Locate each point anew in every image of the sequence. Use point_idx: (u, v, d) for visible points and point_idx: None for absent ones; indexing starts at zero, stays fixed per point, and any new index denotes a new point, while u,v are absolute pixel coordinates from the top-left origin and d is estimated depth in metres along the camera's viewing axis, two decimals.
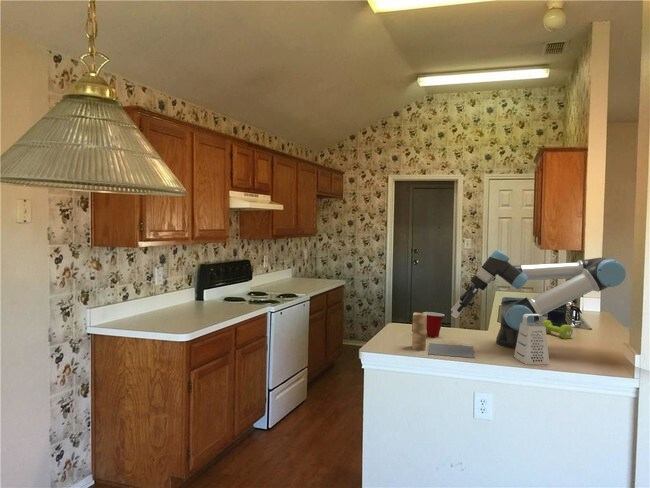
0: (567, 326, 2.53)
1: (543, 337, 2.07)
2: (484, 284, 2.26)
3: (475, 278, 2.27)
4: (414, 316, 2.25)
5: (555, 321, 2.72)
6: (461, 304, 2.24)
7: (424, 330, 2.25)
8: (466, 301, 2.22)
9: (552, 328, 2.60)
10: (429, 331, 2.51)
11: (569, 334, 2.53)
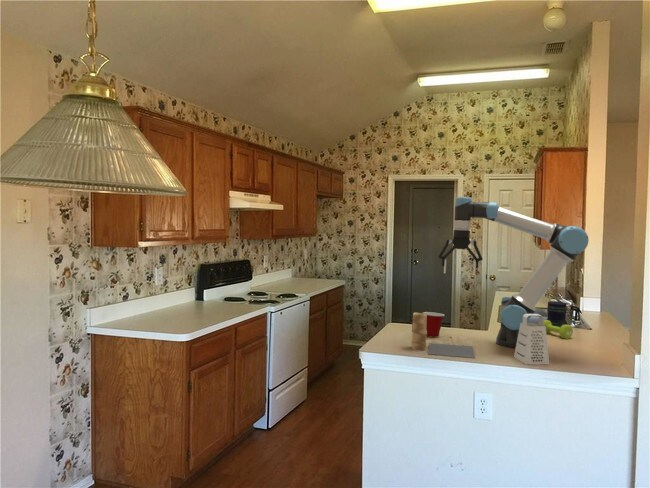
0: (567, 326, 2.53)
1: (543, 337, 2.07)
2: (455, 231, 2.32)
3: None
4: (414, 316, 2.25)
5: (555, 321, 2.72)
6: (442, 258, 2.36)
7: (424, 330, 2.25)
8: (440, 253, 2.36)
9: (552, 328, 2.60)
10: (429, 331, 2.51)
11: (569, 334, 2.53)
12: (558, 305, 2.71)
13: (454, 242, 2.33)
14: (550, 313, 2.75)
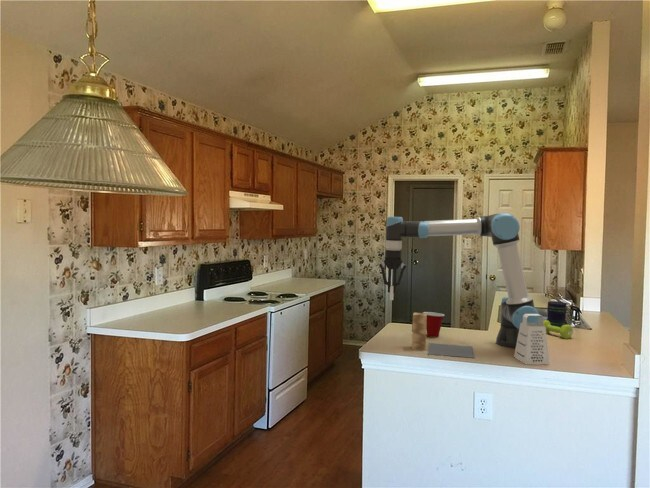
0: (568, 326, 2.53)
1: (543, 337, 2.07)
2: (386, 251, 2.28)
3: None
4: (414, 316, 2.25)
5: (555, 321, 2.72)
6: None
7: (424, 330, 2.25)
8: None
9: (552, 328, 2.60)
10: (429, 331, 2.51)
11: (570, 334, 2.53)
12: (558, 305, 2.71)
13: (386, 262, 2.29)
14: (550, 313, 2.75)
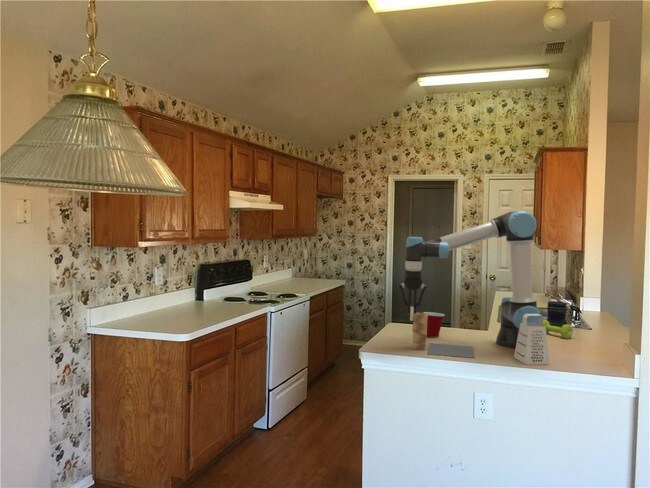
0: (568, 326, 2.53)
1: (543, 337, 2.07)
2: (406, 272, 2.26)
3: None
4: (415, 316, 2.25)
5: (555, 321, 2.72)
6: None
7: (425, 330, 2.25)
8: None
9: (552, 328, 2.59)
10: (429, 331, 2.51)
11: (570, 334, 2.53)
12: (558, 305, 2.71)
13: (406, 283, 2.28)
14: (550, 313, 2.75)
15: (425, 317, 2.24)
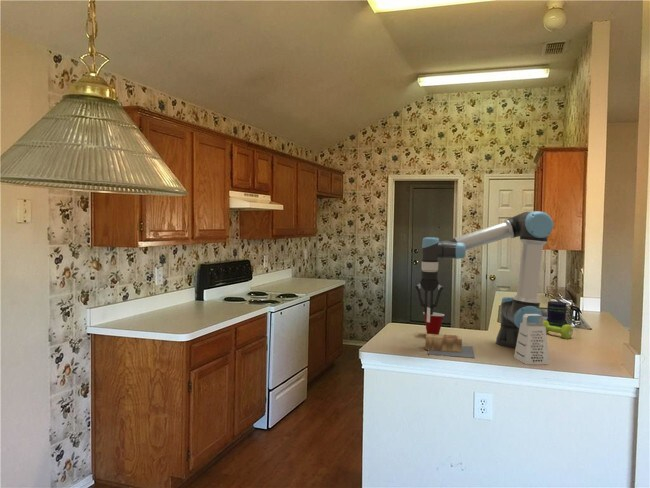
0: (569, 326, 2.53)
1: (543, 337, 2.07)
2: (422, 273, 2.25)
3: None
4: (460, 340, 2.21)
5: (555, 321, 2.72)
6: None
7: (445, 349, 2.23)
8: (420, 301, 2.28)
9: (552, 328, 2.59)
10: (429, 331, 2.51)
11: (570, 334, 2.53)
12: (558, 305, 2.71)
13: (422, 284, 2.26)
14: (550, 313, 2.75)
15: (459, 350, 2.21)
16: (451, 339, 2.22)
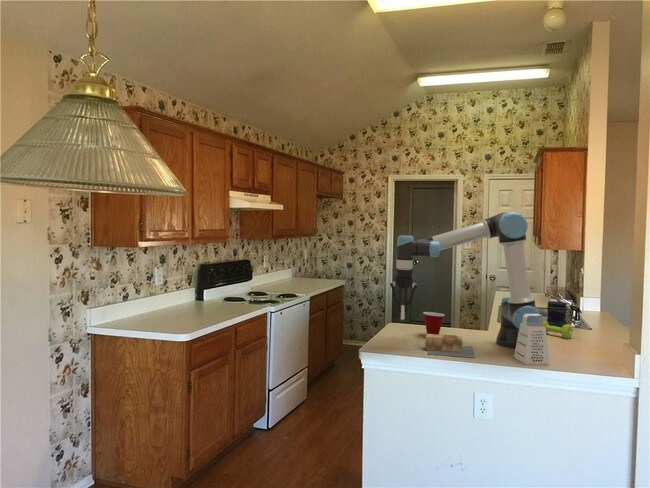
0: (569, 326, 2.53)
1: (543, 337, 2.07)
2: (397, 271, 2.27)
3: None
4: (460, 340, 2.21)
5: (555, 321, 2.72)
6: None
7: (445, 349, 2.23)
8: None
9: (552, 328, 2.59)
10: (429, 331, 2.51)
11: (571, 334, 2.54)
12: (558, 305, 2.71)
13: (396, 281, 2.29)
14: (550, 313, 2.75)
15: (459, 350, 2.21)
16: (451, 339, 2.22)
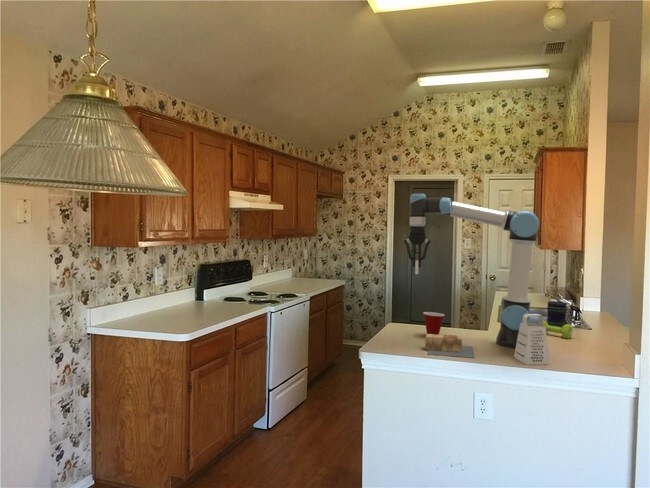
0: (569, 326, 2.53)
1: (543, 337, 2.07)
2: (410, 227, 2.38)
3: None
4: (460, 340, 2.21)
5: (555, 321, 2.72)
6: None
7: (445, 349, 2.23)
8: None
9: (552, 328, 2.59)
10: (429, 331, 2.51)
11: (571, 334, 2.54)
12: (558, 305, 2.71)
13: (410, 238, 2.39)
14: (550, 313, 2.75)
15: (459, 350, 2.21)
16: (451, 339, 2.22)
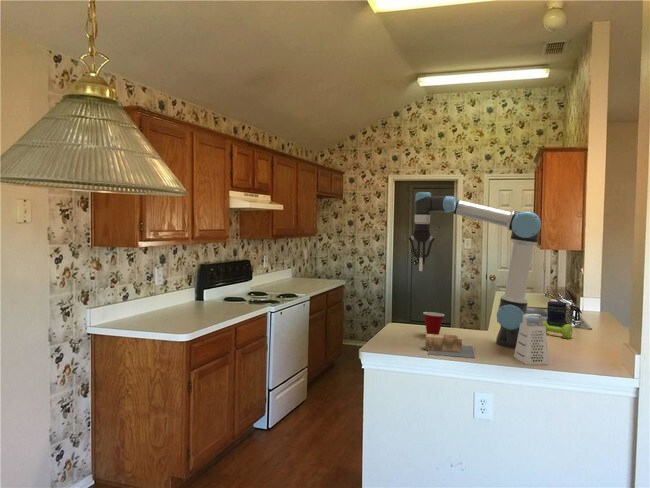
0: (570, 326, 2.53)
1: (543, 337, 2.07)
2: (415, 225, 2.42)
3: None
4: (460, 340, 2.21)
5: (555, 321, 2.72)
6: None
7: (445, 349, 2.23)
8: (413, 252, 2.45)
9: (552, 329, 2.59)
10: (429, 331, 2.51)
11: (571, 333, 2.54)
12: (558, 305, 2.71)
13: (415, 235, 2.43)
14: (550, 313, 2.75)
15: (459, 350, 2.21)
16: (451, 339, 2.22)
